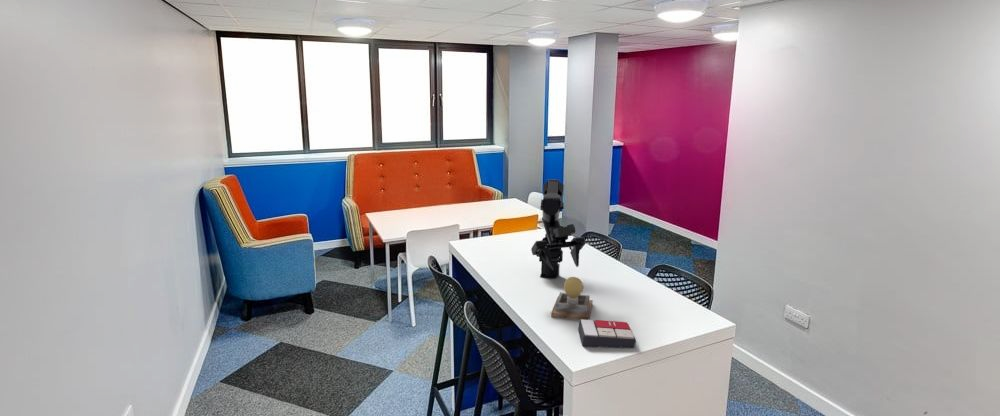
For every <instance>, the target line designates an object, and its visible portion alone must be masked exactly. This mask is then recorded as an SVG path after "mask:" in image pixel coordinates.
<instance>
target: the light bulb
mask: <svg viewBox="0 0 1000 416" xmlns="http://www.w3.org/2000/svg"><path fill="white" fill-rule="evenodd" d="M563 282H564V283H563V291H564V293H566V294H567V295H568V297H567V304H576V305H578V296H579V295H580V294H581V295H582V292H583V290H584V283H583V282H582V280H581V279H580V278H579V277H576V276H571V277H568V278H566V280H565V281H563Z"/></svg>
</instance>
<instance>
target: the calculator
mask: <svg viewBox="0 0 1000 416" xmlns="http://www.w3.org/2000/svg"><path fill="white" fill-rule="evenodd" d="M577 331H578V335H579V339H580V343H581V346H582V347H583V348H600V347H601V348H611V349H613V348H614V349H635V348H636V342H637V339H636V337H635V335H634V333H633V330H632V329H631V326H630V324H629V323H628V321H619V320H618V321H617V320H601V319H594V320H592V319H589V320H583V319H581V320H578V327H577Z"/></svg>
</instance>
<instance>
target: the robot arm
mask: <svg viewBox="0 0 1000 416" xmlns="http://www.w3.org/2000/svg"><path fill="white" fill-rule="evenodd" d="M564 186H565V185H564V184H563V183H562V182H561V181H560V180H559V179H554V178H553V179H552V178H551V179H550V178H549V179H547V180H546V182H545V183H543V186H542V196H543V197H542V199H541V200H540V211H542V217H541V222H542V224H543V229H544V231H545V234H544V236H545V237H542V239H541V240H535V242H534V244H533V245H532V247H531V248H530V250H531V255H532V256H536V257H538V260H539V262H540V263H541V268H540V269H541V272H540V275H539V277H540V278H546V279H558V276H559V275H560V270H561V269H560V268H561V267H560V266H561V265H560V263H562V262H563V257H564V251H563V249H564V248H569V250H570V252H569V253H570V255H571V258H572V261H573V263H574V265H575V267H577V268H578V267H579V265H580V264H579V263H580V252H581V250H582V249H583V247H584V246H585V245H586V244H587V242H586V239H585V237H583V236H575V237H574V236H573V238H572V239H571V240H570V241H567V240H569V237H572V234H576V233H577V232H576V227H575V225H574V224H568V225H566V226H563V225H562V224H561V222H560V219H559V218H560V212H562V211H563V210H564V207H565V203H564V201H563V200H562V199H563V198H562V197H564V189H565V188H564Z"/></svg>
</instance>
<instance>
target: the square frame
mask: <svg viewBox="0 0 1000 416" xmlns="http://www.w3.org/2000/svg"><path fill="white" fill-rule="evenodd" d="M567 297H568V295H567V294H566V292H565V291H563V292H562V291H560V292H559V294H558V296H557V297H556V300H555V303H554V305H553V306H552V310H551V312H550V318H556V319H557V318H558V319H563V320H564V319H565V320H574V321H579V320H581V319H583V320H590V315H591V312H592V308H593V302H594V301H593V300H591V299H590V295H589V294H582V293H581V294H580V295H579V296H578V305H576V304H567Z"/></svg>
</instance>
